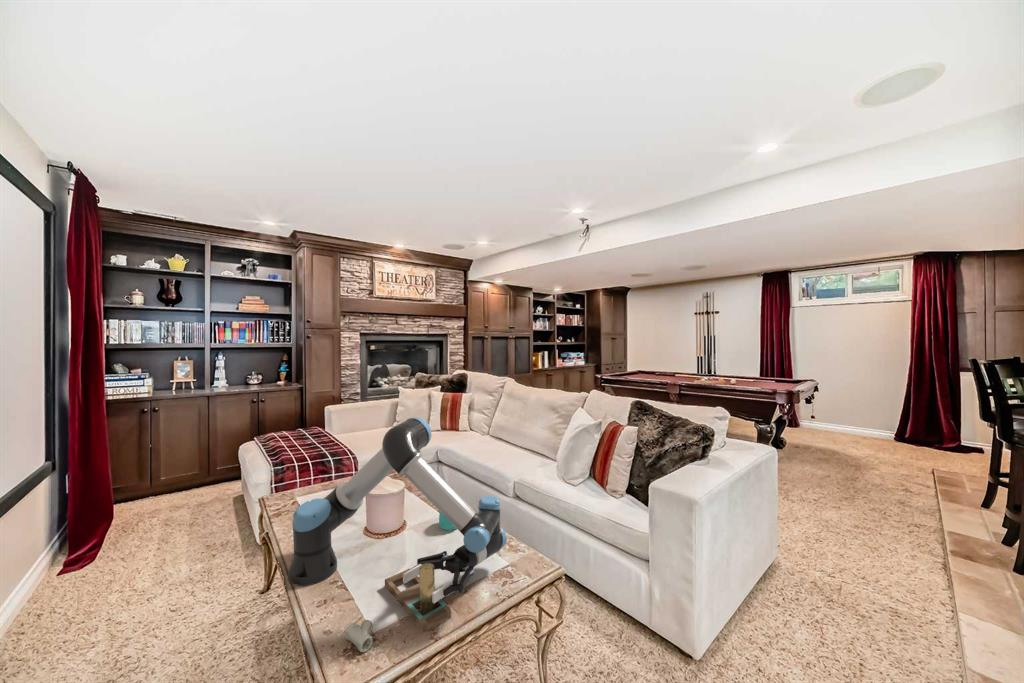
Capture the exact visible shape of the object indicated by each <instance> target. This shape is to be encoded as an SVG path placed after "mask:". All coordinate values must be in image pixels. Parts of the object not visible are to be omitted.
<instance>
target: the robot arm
mask: <svg viewBox="0 0 1024 683" xmlns="http://www.w3.org/2000/svg"><path fill="white" fill-rule="evenodd" d="M431 438H432V427H431V426H430V425H429V423H428V422H427V421H426V420H425V419H423V418H421V417H410V418H407V419H406V420H404V421H402V422H401V423H399V424H397V425H395V426H392V427H391V428H390V429H388V431H387V432H385V435H383V439H382V442H381V444H382V445H381V446H382V447H381V448H380V449H379V450H378V451H377V453H376V454H374V455H373V456H372V457H371V458H370V459H369V460H368V461H367V462H366V463H365V464H364V465H363V466H362V467H361V468H360V469H359V470H358V471H357V472H356V473H355V474H354V475H353V476H352V477H351V478H350V479H349V480H348V481H345V482H344V481H343V482H340V483H339V484H338V485H337V486H336V487H335V488H334V489H333V490H332V491H331V492H329V494H327V495H326V496H325V497H323V498H314V499H311V500H310V501H309V500H308V501H305V502H303V503H301V504H300V505H299V506H297V508H296V509H295V510H294V513H293V517H292V518H293V520H292V534H293V535H292V536H293V537H292V538H293V556H292V559H291V562H290V565H289V569H288V581H289V582H290V583H291V584H293V585H296V586H310V585H313V584H317V583H319V582H323V581H325V580H326V579H328V578H330V577H331V576H332V575H333V574H335V572H336V571H337V568H338V559H337V556H336V554H335V551H334V548H333V546H332V532H333V531H335V530H336V529H337V528H338V527H340V525H342V524H343V523H345V521H347V520H348V519H350V518H352V517H353V516H354V515H355V514H356V513H357V511H358V510H359V509H360V508H361V507H362V505H363V503H364V498H366V496H368V494H369V493H371V492H372V491H373V490H374V489H375V488H376V487H377V486H378V485H379V484H380V483H381V482H382V481H383V480H384V479H385V478H386V477H387V476H388V475H389V474H390V473H391V472H393V471H395V472H396V473H397V474H398V475H399V476H405V477H406V478H407V479H408V481H410V482H411V484H412V485H413V486H414V487H416V489H417V490H419V492H420V493H421V494H422V495H424V497H425V498H426V499H427V500H428V501H429V502H430V503H431V504H432V505H433V506H434V507H435V508H436V509H437V510H438V511H439V513H440V512H441V513H442V514H443V515H444V516H445V517H446V518H447V519H448V520H449V521H450V522H451V523H452V524H453V525H454V526H455V527H456V528H457V530H458V531H459V533H461V534H462V536H463V545H461V546H459V547H458V548H456V550H455V551H454V553H453V554H450V555H449V554H448V553H447V550H444V551H442V552H439V553H436V554H431V555H428V556H423V557H419V558H417V560H416V563H417V564H416V565H414V566H413V567H411V568H409V569H410V570H409V571H407V572H405V573H404V574H403V583H404V584H407V583H409V582H411V581H410V580H411V579H413V578H415V577H416V576H418V577H419V568H420V566H421V565H423V564H426V563H431V564H433V565H434V571H435V570H441V571H448V572H449V573H451V574H453V579H451V580H452V581H448V582H446V583H445V584H443V585H442V586H440V587H439V588H437V589H436V590H435V592H433V593H432V603H436V602H437V601H439V600H440V599H443V598H444V597H448V596H449V595H451V594H452V593H455V592H458V594H462V593H463V592H464V590H465V588H466V586H467V584H468V583H469V580H470V578H471V577H473V576H474V570H475V568H476V566H478V565H479V564H481V563H483V562H484V561H485V560H487V559H488V558H490V557H491V556H493V555H495V554H496V553H498V552H499V551H501V550H502V549H503V548H504V547H505V546H506V544H507V540H508V538H507V535H506V531H505V530H504V528H502V527H501V509H502V508H501V500H500V499H499V498H498V497H496V496H492V495H486V496H483V497H481V498H480V499H479V500H478V506H477V508H478V512H476V510H474V509H473V508H472V507H471V505H469V504H468V503H467V502H466V500H464V499H463V497H461V496H460V494H459V493H457V491H456V490H454V488H452V486H450V485H449V483H448V482H447V481H446V480H445V479H444V478H443V477H442V476H441V475H440V474H439V473H438V472H437V471H436V470H435V469H434V468H433V467H432V466H431V465H430V464H429V463H428V462H427V461H426V460H425V459H424V458H423V457H422V456H423V455H422V454H423V453H422V451H421V450H422V449H423V448H425V447H427V445H428V444H429V443H430V442H431ZM461 573H463V574H462V576H461V578H460V575H461ZM408 581H409V582H408ZM406 582H407V583H406ZM404 584H403V585H404Z"/></svg>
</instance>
